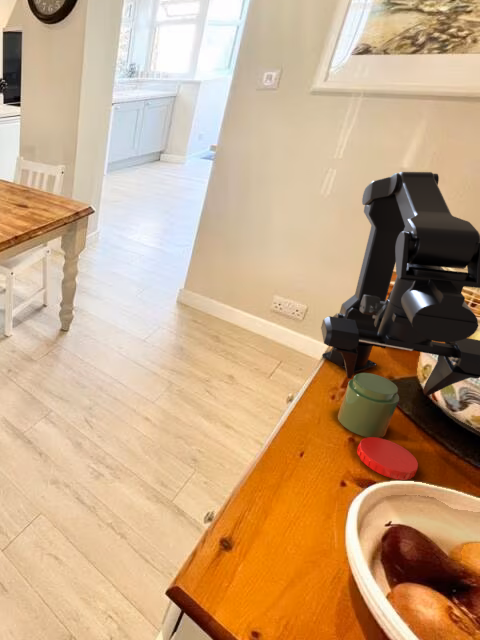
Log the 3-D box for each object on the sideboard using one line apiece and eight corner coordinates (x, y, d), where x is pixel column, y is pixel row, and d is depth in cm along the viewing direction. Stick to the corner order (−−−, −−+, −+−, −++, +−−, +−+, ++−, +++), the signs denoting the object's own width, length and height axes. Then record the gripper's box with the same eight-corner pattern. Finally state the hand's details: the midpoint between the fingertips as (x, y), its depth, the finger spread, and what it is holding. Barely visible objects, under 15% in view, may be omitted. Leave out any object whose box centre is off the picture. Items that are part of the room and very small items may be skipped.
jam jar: (353, 406, 77) (367, 367, 73) (395, 431, 71) (412, 389, 67) (328, 417, 75) (341, 376, 72) (368, 443, 70) (384, 400, 66)
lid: (374, 478, 64) (377, 470, 63) (347, 443, 70) (349, 435, 69) (427, 482, 62) (431, 474, 62) (394, 446, 69) (397, 438, 68)
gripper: (488, 291, 61) (452, 371, 68) (328, 272, 72) (309, 344, 78) (522, 329, 53) (477, 417, 59) (336, 302, 63) (314, 379, 70)
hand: (385, 384), depth 67 cm, fingers open, 9 cm apart
